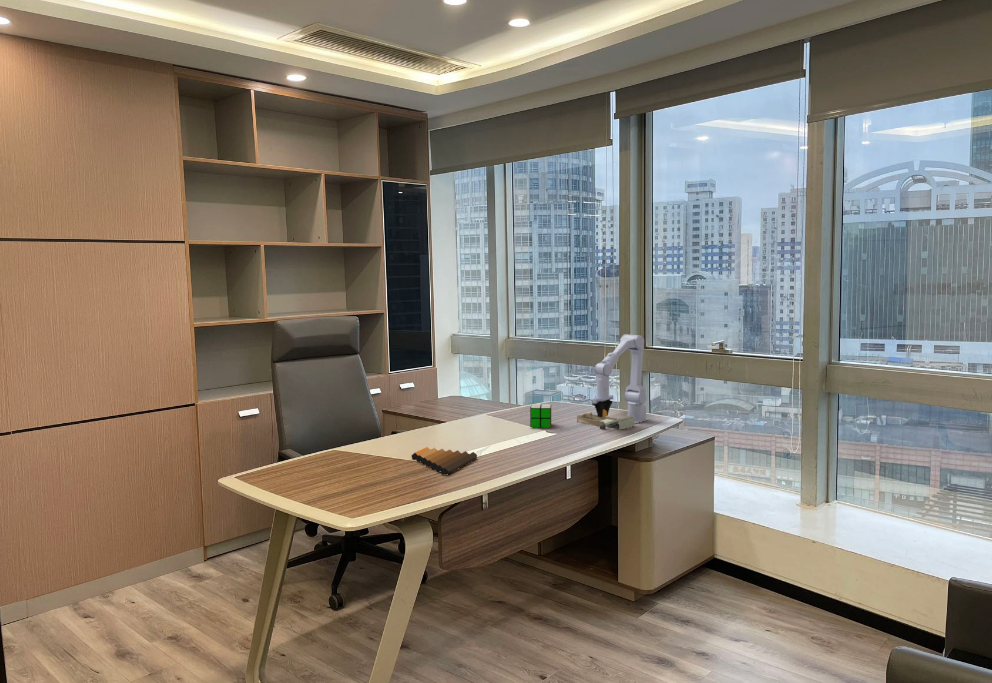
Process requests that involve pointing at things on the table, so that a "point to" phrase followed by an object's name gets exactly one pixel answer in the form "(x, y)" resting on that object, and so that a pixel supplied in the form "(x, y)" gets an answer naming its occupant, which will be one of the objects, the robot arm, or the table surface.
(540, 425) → the puzzle cube
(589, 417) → the wooden tray
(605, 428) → the tee
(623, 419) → the ramp
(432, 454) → the brown ridged panel
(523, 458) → the table surface
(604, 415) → the ball
